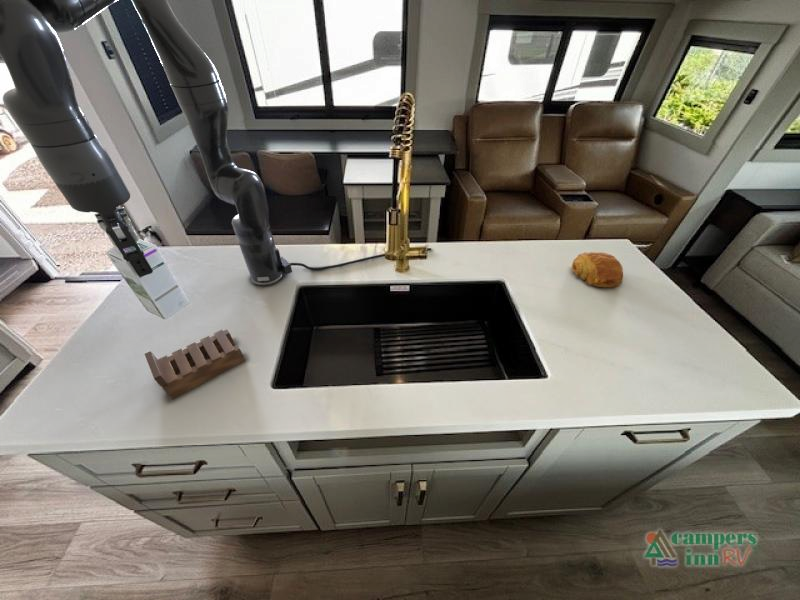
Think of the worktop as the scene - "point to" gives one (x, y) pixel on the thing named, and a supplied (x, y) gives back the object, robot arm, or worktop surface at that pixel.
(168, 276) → the syrup box
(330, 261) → the worktop surface
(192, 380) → the rack
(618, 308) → the worktop surface
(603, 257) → the croissant
